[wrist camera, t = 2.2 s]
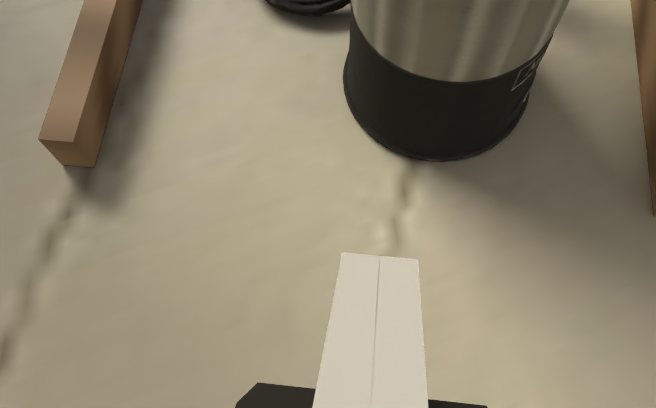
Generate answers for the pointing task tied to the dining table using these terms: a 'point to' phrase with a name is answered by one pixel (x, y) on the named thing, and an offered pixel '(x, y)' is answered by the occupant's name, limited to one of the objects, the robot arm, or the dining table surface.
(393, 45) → the milk frother
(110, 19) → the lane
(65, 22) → the dining table surface
